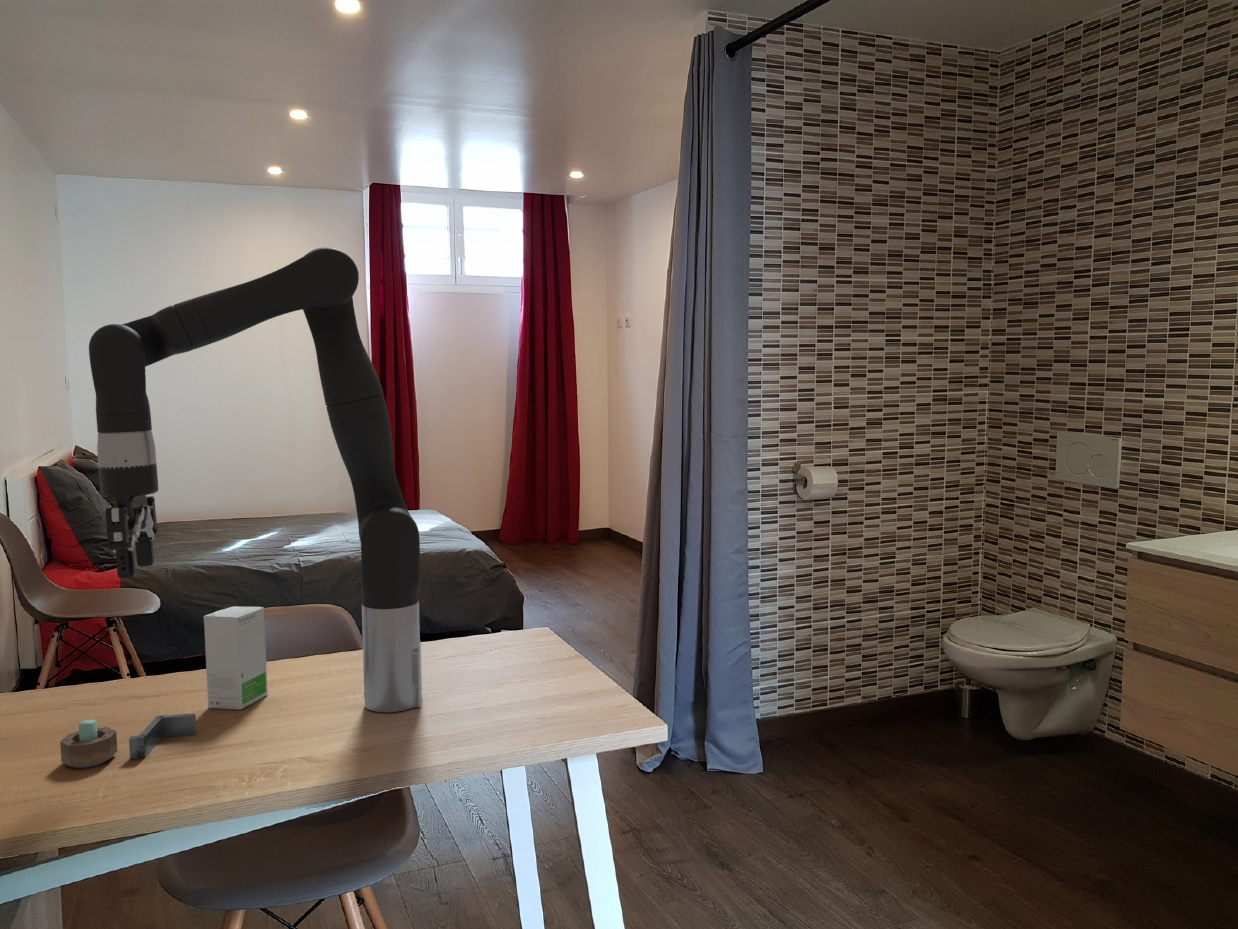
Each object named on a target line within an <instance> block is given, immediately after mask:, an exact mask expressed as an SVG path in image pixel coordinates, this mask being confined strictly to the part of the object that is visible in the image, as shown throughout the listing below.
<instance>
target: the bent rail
mask: <svg viewBox="0 0 1238 929" xmlns="http://www.w3.org/2000/svg"><path fill="white" fill-rule="evenodd" d="M196 722H197V721H196V713H181V714H164V715H163V714H161V715H156V716H155V717H154V718H153V720H152V721H151V722H150V723H149V724H148V725H147V726H146V728H144V729H143V731H142V732H140V734H139V735H131V736H130V737H129V738H128V743H129V744H128V745H129V747H128V748H129V760H135V759H146V758H147V756H148V755H149V754H150V753H151V752H152V751H153V749H154V748H155V747H156V746H157V744H158V743H159V742H160V741H161V740H162V739H163V738H166V737H179V736H180V737H181V736H195V734H197V723H196Z"/></svg>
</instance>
